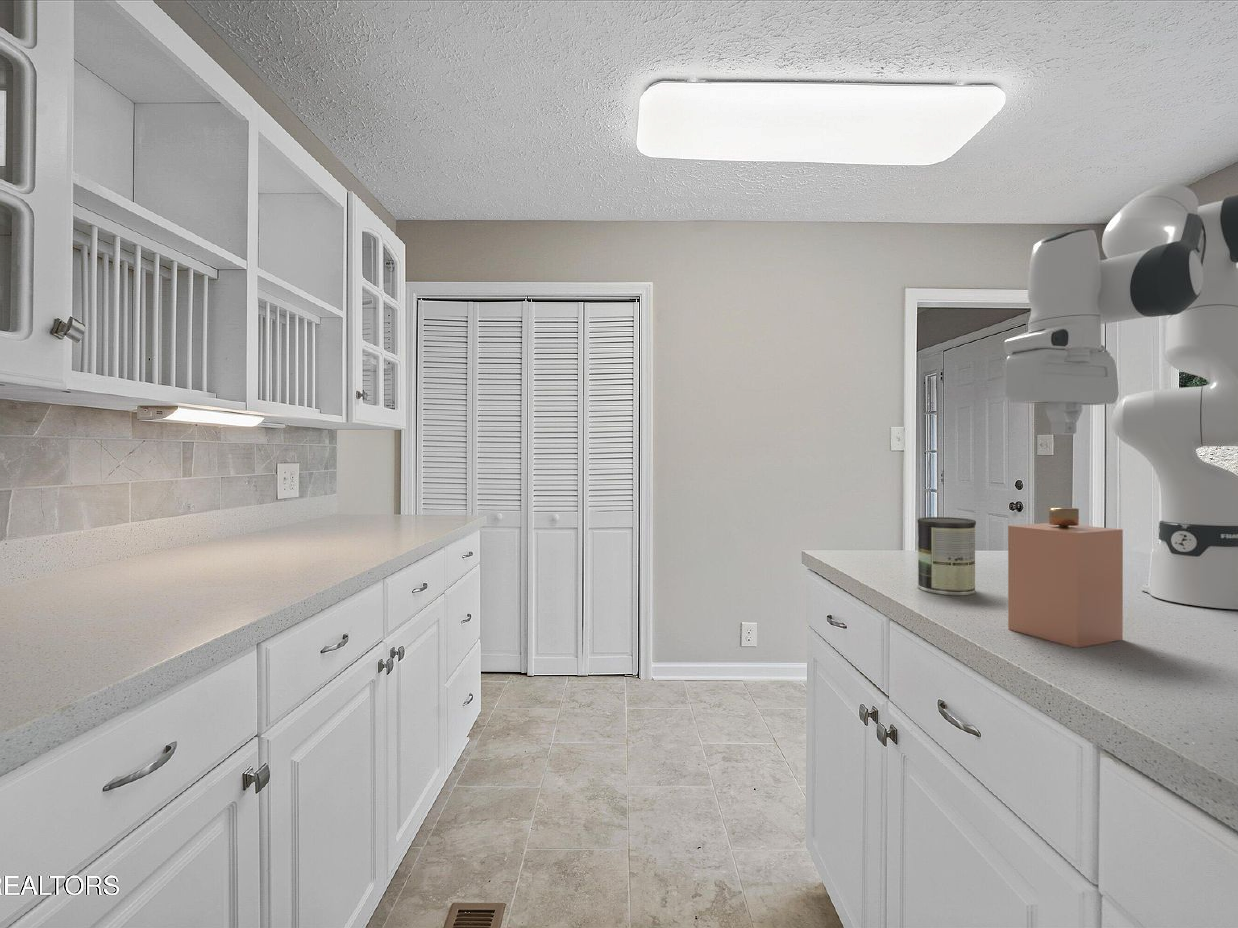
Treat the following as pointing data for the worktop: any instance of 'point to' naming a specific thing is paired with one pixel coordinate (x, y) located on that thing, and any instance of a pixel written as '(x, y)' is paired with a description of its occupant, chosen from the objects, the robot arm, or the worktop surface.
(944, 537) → the coffee can
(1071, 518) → the plunger
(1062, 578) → the block
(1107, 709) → the worktop surface
